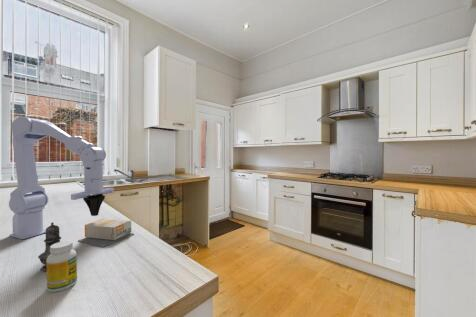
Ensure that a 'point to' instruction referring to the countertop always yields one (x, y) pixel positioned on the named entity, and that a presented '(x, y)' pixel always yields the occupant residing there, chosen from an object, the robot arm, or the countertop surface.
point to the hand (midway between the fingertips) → (94, 215)
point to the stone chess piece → (49, 243)
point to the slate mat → (102, 241)
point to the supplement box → (108, 229)
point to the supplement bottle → (61, 266)
